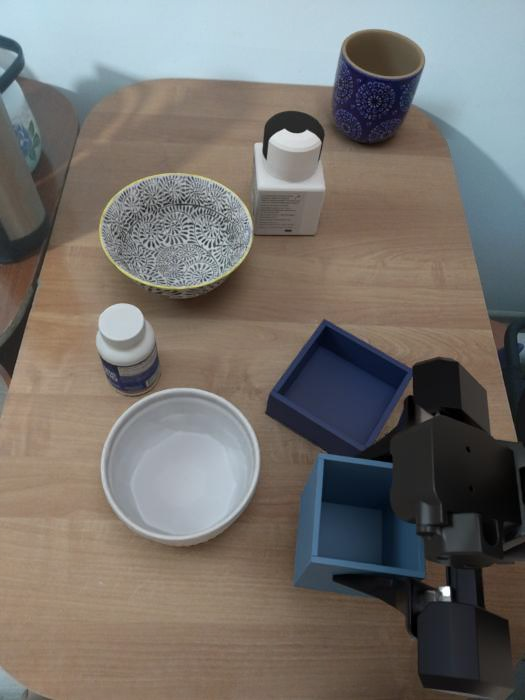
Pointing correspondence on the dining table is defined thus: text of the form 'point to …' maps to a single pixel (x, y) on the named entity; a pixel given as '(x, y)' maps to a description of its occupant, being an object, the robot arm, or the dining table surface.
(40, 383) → the dining table surface
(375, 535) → the blue bin
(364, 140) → the planter
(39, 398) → the dining table surface
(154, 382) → the pill bottle
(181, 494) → the ramekin
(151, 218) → the bowl
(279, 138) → the container
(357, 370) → the navy bin
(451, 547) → the robot arm
